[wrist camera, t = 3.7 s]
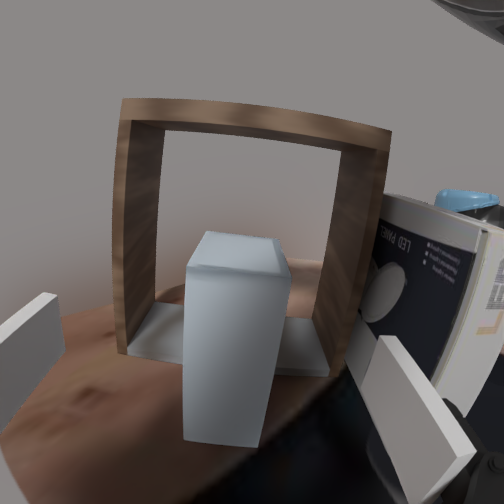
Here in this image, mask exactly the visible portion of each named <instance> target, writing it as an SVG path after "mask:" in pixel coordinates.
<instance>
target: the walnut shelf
mask: <svg viewBox="0 0 504 504" xmlns="http://www.w3.org/2000/svg"><path fill="white" fill-rule="evenodd" d="M165 130H171V131H173V130H174V131H188V132H203V133H215V134H226V135H236V136H245V137H254V138H263V139H269V140H277V141H284V142H291V143H297V144H303V145H310V146H315V147H322V148H327V149H332V150H338V151H341V158H340V166H339V173H338V180H337V187H336V193H335V199H334V205H333V212H332V218H331V224H330V230H329V236H328V241H327V246H326V252H325V257H324V262H323V267H322V272H321V277H320V282H319V287H318V292H317V297H316V301H315V306H314V311H313V315H312V319H305V318H293V317H285V320H284V326H283V331H282V336H281V341H280V346H279V352H278V357H277V362H276V366H275V371H274V374H275V375H292V376H314V377H338V375H339V372H340V369H341V366H342V363H343V360H344V357H345V354H346V350H347V347H348V344H349V340H350V337H351V334H352V330H353V327H354V323H355V320H356V316H357V312H358V309H359V305H360V301H361V297H362V293H363V289H364V285H365V281H366V277H367V273H368V268H369V264H370V260H371V255H372V251H373V246H374V241H375V236H376V231H377V226H378V221H379V216H380V210H381V205H382V199H383V193H384V186H385V180H386V173H387V166H388V159H389V152H390V144H391V135H392V131H390V130H385V129H382V128H377V127H374V126H370V125H365V124H361V123H357V122H352V121H347V120H343V119H338V118H333V117H329V116H323V115H318V114H313V113H306V112H301V111H295V110H288V109H281V108H275V107H267V106H259V105H251V104H242V103H231V102H220V101H206V100H189V99H162V98H159V99H158V98H129V99H128V98H125V99H122V106H121V112H120V120H119V128H118V137H117V147H116V158H115V171H114V188H113V209H112V276H113V299H114V316H115V329H116V340H117V350H118V353H120V354H125V355H130V356H135V357H141V358H146V359H152V360H158V361H164V362H170V363H176V364H183V333H184V305H176V304H169V303H162V302H155V266H156V236H157V216H158V202H159V188H160V175H161V165H162V155H163V145H164V136H165Z"/></svg>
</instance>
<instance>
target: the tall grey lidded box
mask: <svg viewBox="0 0 504 504" xmlns="http://www.w3.org/2000/svg"><path fill="white" fill-rule="evenodd" d="M291 282H292V276H291V273H290V270H289V267H288V265H287V262H286V259H285V256H284V253H283V251H282V248H281V245H280V242H279V240H278V239H272V238H265V237H256V236H247V235H238V234H229V233H221V232H212V231H206V233H205V234H204V236H203V238H202V240H201V242H200V243H199V245H198V247H197V249H196V250H195V252H194V254H193V255H192V257H191V259H190V260H189V262H188V264H187V266H186V282H185V304H184V333H183V440H187V441H194V442H201V443H209V444H218V445H228V446H239V447H254V448H258V444H259V440H260V436H261V431H262V427H263V423H264V418H265V414H266V409H267V404H268V400H269V395H270V391H271V386H272V381H273V376H274V371H275V366H276V362H277V357H278V352H279V346H280V341H281V336H282V331H283V326H284V320H285V315H286V310H287V304H288V299H289V293H290V287H291Z"/></svg>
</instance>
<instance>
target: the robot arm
mask: <svg viewBox="0 0 504 504" xmlns="http://www.w3.org/2000/svg"><path fill="white" fill-rule="evenodd" d="M432 1H433V2H435V3H436V4H437V5H439V6H440V7H442V8H443V9H445V10H446V11H447V12H449V13H450V14H452V15H453V16H455V17H457V18H458V19H459V20H461V21H463V22H464V23H466V24H467V25H469V26H470V27H472V28H474V29H476V30H477V31H479V32H481V33H483V34H485V35H486V36H488V37H490V38H492V39H493V40H495V41H497V42H499V43H501V44H503V45H504V0H432ZM499 203H500V201H499V197H498V196H497V195H492V194H486V193H480V192H471V191H464V190H453V189H444V190H441V191H440V192H439V193H438V194H437V196H436V200H435V204H434V206H437V207H441V208H444V209H448V210H451V211H454V212H457V213H460V214H463V215H466V216H469V217H471V218H474V219H477V220H480V221H483V222H486V223H488V224H491V225H494V226H497V227H499V228H502V229H504V207H503V206H500V205H498V204H499ZM65 351H66V349H65V343H64V337H63V331H62V325H61V318H60V312H59V303H58V295H54V294H50V293H46V292H43V293H42V294H40V295H39V296H38V297H36V298H35V299H34V300H32V301H31V302H30V303H28V304H27V305H26V306H25V307H23V308H22V309H21V310H19V311H18V312H17V313H16V314H14V315H13V316H12V317H11V318H9V319H8V320H7V321H5V322H4V323H3V324H2V325H1V326H0V434H1V433H2V431H3V430H4V429H5V427H6V426H7V425H8V423H9V422H10V420H11V419H12V418H13V416H14V415H15V414H16V412H17V411H18V410H19V409H20V407H21V406H22V405H23V403H24V402H25V401H26V399H27V398H28V397H29V396H30V394H31V393H32V392H33V390H34V389H35V388H36V387H37V385H38V384H39V383H40V382H41V380H42V379H43V378H44V377H45V375H46V374H47V373H48V372H49V370H50V369H51V368H52V367H53V366H54V364H55V363H56V362H57V361H58V360H59V358H60V357H61V356H62V355H63V354H64V352H65ZM361 391H362V393H363V395H364V397H365V400H366V402H367V404H368V406H369V409H370V411H371V413H372V416H373V418H374V420H375V423H376V425H377V427H378V429H379V432H380V434H381V437H382V439H383V441H384V444H385V446H386V448H387V451H388V453H389V456H390V458H391V460H392V463H393V465H394V468H395V470H396V473H397V475H398V477H399V480H400V482H401V485H402V487H403V490H404V492H405V495H406V497H407V500H408V503H409V504H432V503H433V502H434V501H435V500H436V499H437V498H438V497H439V496H440V495H441V497H442V499H443V502H442V503H441V504H504V454H502V453H499V452H494V451H492V452H488V451H487V450H486V448H485V447H484V445H483V444H482V442H481V441H480V439H479V438H478V436H477V435H476V433H475V432H474V430H473V429H472V427H471V426H470V425H468V422H467V420H466V419H465V417H464V418H463V415H462V413H461V412H460V410H459V409H458V408H457V406H456V405H454V404H453V403H452V402H451V401H449V400H448V399H447V398H442V399H441V397H440V396H439V394H438V393H437V392H436V390H435V389H434V387H433V386H432V385H431V383H430V382H429V380H428V379H427V378H426V376H425V375H424V373H423V372H422V371H421V369H420V368H419V367H418V365H417V364H416V362H415V361H414V360H413V358H412V357H411V356H410V354H409V353H408V352H407V350H406V349H405V348H404V346H403V345H402V344H401V342H400V341H399V340H398V338H397V337H396V336H384V335H379V338H378V341H377V344H376V347H375V350H374V353H373V356H372V359H371V362H370V364H369V367H368V370H367V372H366V375H365V378H364V380H363V383H362V385H361Z"/></svg>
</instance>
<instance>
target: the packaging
mask: <svg viewBox="0 0 504 504" xmlns="http://www.w3.org/2000/svg"><path fill="white" fill-rule="evenodd" d="M379 335H384V336H396V337H397V338H398V340H399V341H400V342H401V344H402V345H403V346H404V348H405V349H406V350H407V352H408V353H409V354H410V356H411V357H412V358H413V360H414V361H415V362H416V364H417V365H418V367H419V368H420V369H421V371H422V372H423V373H424V375H425V376H426V378H427V379H428V380H429V382H430V383H431V385H432V386H433V387H434V389H435V390H436V392H437V393H438V394H439V396H440V397H441V399H442V398H447V399H448V400H449V401H451V402H452V403H453V404H454V405H456V406H457V408H458V409H459V410H460V412H461V413H462V415H463V418H464V417H466V415H467V413H468V411H469V410H470V408H471V406H472V405H473V403H474V401H475V399H476V398H477V396H478V394H479V393H480V391H481V389H482V387H483V385H484V383H485V381H486V380H487V378H488V376H489V374H490V372H491V370H492V368H493V366H494V364H495V361H496V359H497V357H498V355H499V353H500V351H501V348H502V346H503V344H504V229H502V228H499V227H497V226H494V225H491V224H488V223H486V222H483V221H480V220H477V219H474V218H471V217H469V216H466V215H463V214H460V213H457V212H454V211H451V210H448V209H444V208H441V207H437V206H433V205H429V204H428V203H425V202H422V201H419V200H415V199H412V198H408V197H405V196H401V195H398V194H394V193H391V192H387V191H384V193H383V199H382V205H381V210H380V216H379V221H378V226H377V231H376V236H375V241H374V246H373V251H372V255H371V260H370V264H369V268H368V273H367V277H366V281H365V285H364V289H363V293H362V297H361V301H360V305H359V309H358V312H357V316H356V320H355V323H354V327H353V330H352V334H351V337H350V340H349V344H348V347H347V350H346V354H345V357H344V359H345V361H346V364H347V366H348V368H349V370H350V372H351V374H352V376H353V378H354V381H355V383H356V385H357V387H358V389H359V391H360V394H361V396H362V398H363V400H364V402H365V404H366V407H367V409H368V411H369V413H370V415H371V418H372V420H373V422H374V424H375V427H376V429H377V431H378V433H379V436H380V438H381V440H382V442H383V445H384V447H385V449H386V451H387V448H386V446H385V444H384V441H383V439H382V437H381V434H380V432H379V429H378V427H377V425H376V423H375V420H374V418H373V416H372V413H371V411H370V409H369V406H368V404H367V402H366V400H365V397H364V395H363V393H362V391H361V385H362V383H363V380H364V378H365V375H366V372H367V370H368V367H369V364H370V362H371V359H372V356H373V353H374V350H375V347H376V344H377V341H378V338H379ZM387 454H388V455H389V453H388V451H387ZM391 461H392V460H391Z"/></svg>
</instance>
